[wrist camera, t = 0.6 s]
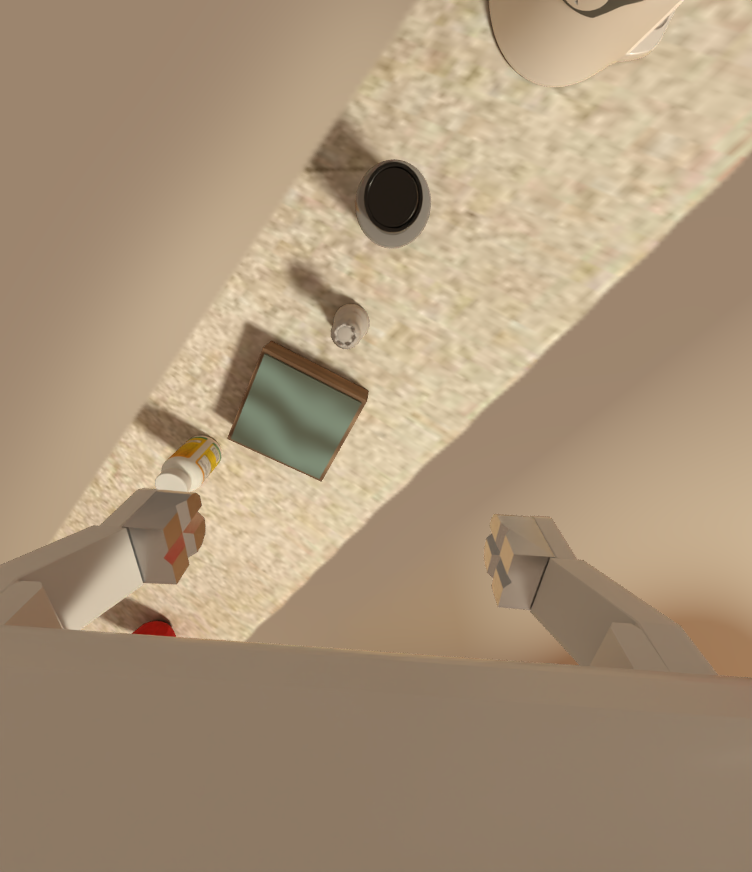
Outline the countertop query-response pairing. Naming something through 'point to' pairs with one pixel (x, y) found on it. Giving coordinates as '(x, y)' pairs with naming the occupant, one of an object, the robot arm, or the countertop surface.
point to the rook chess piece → (349, 326)
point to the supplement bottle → (189, 465)
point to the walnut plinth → (296, 411)
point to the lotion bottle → (393, 203)
